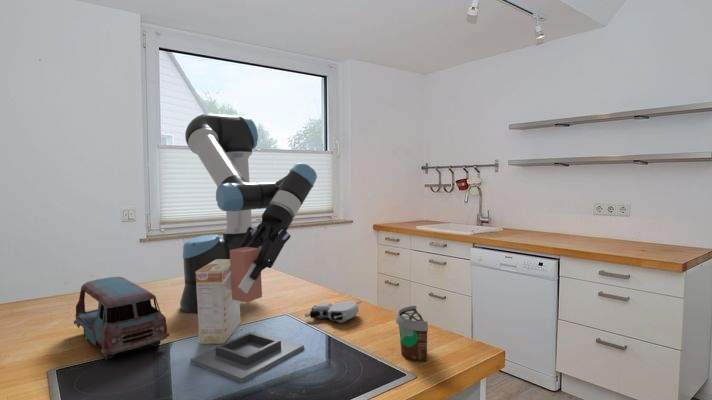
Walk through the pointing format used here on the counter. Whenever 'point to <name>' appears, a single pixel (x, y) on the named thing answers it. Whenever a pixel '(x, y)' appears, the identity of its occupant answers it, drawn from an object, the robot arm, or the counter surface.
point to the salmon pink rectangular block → (244, 273)
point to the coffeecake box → (215, 304)
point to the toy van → (120, 316)
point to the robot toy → (334, 311)
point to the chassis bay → (246, 355)
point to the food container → (412, 334)
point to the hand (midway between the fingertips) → (234, 288)
